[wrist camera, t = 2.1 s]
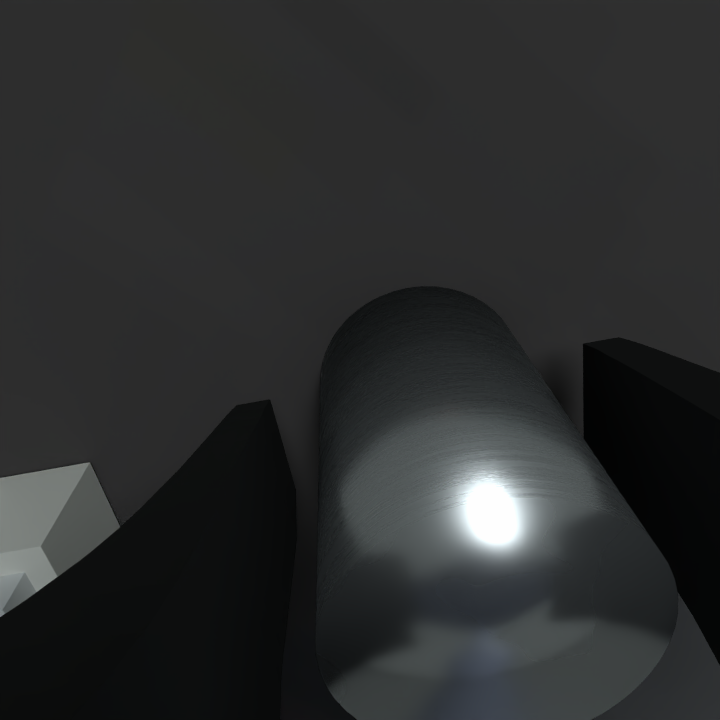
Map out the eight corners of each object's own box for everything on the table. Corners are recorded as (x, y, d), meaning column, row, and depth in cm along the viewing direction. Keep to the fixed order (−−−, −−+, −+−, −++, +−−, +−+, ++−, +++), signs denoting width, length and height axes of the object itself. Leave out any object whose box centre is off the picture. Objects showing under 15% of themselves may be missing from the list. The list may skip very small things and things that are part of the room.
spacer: (525, 445, 13) (667, 721, 7) (341, 477, 13) (351, 771, 8) (513, 268, 11) (692, 465, 6) (300, 307, 11) (277, 536, 6)
